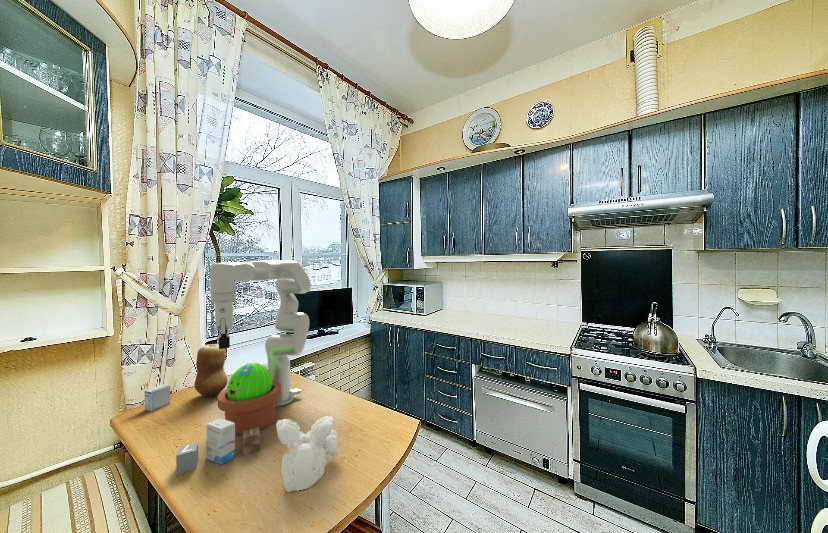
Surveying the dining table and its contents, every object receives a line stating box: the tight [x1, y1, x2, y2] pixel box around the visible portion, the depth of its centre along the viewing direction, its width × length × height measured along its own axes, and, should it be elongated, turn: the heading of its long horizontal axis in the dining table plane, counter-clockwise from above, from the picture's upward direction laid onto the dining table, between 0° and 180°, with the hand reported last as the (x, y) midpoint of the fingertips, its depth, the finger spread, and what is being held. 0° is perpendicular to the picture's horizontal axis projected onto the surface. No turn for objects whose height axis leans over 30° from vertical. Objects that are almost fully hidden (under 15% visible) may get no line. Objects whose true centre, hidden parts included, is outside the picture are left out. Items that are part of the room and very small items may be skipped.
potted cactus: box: [217, 362, 281, 436], centre depth 120 cm, size 22×22×25 cm
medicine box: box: [144, 383, 171, 412], centre depth 134 cm, size 8×4×9 cm, turn 164°
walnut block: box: [242, 427, 261, 456], centre depth 104 cm, size 5×5×6 cm
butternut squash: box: [194, 343, 228, 399], centre depth 145 cm, size 14×13×25 cm
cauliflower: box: [275, 415, 338, 493], centre depth 93 cm, size 19×20×20 cm
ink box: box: [205, 417, 236, 466], centre depth 99 cm, size 9×5×12 cm, turn 65°
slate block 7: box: [175, 441, 200, 475], centre depth 95 cm, size 5×5×6 cm
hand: (224, 347), depth 106 cm, fingers closed
